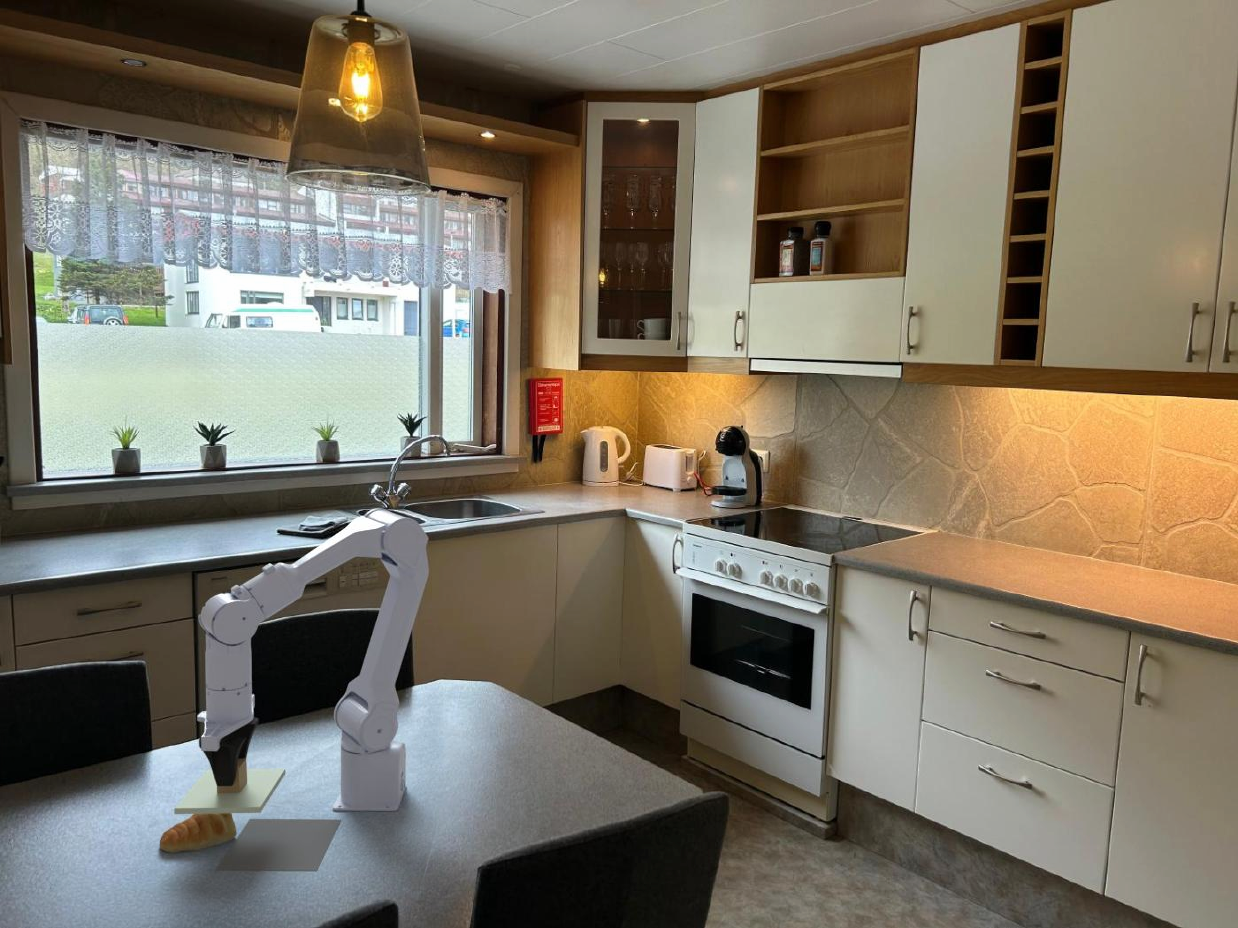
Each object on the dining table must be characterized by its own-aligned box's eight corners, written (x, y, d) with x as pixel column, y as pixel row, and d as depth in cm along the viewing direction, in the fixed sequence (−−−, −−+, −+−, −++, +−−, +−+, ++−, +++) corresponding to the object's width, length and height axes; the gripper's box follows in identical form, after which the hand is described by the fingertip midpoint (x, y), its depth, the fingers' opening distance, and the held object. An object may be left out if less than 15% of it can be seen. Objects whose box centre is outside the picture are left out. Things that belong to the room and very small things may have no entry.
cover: (285, 773, 131) (284, 745, 131) (260, 812, 120) (259, 781, 120) (206, 774, 130) (205, 746, 130) (174, 813, 120) (172, 782, 119)
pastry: (168, 864, 120) (167, 837, 120) (153, 843, 125) (152, 816, 125) (240, 840, 127) (240, 814, 126) (223, 821, 132) (223, 796, 131)
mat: (341, 820, 132) (341, 819, 132) (316, 871, 119) (316, 870, 119) (250, 819, 132) (250, 818, 132) (215, 871, 119) (215, 869, 119)
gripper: (218, 664, 130) (219, 754, 132) (176, 703, 116) (178, 804, 118) (269, 665, 131) (269, 755, 132) (233, 704, 116) (234, 804, 118)
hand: (230, 778), depth 125 cm, fingers closed on cover, 3 cm apart
